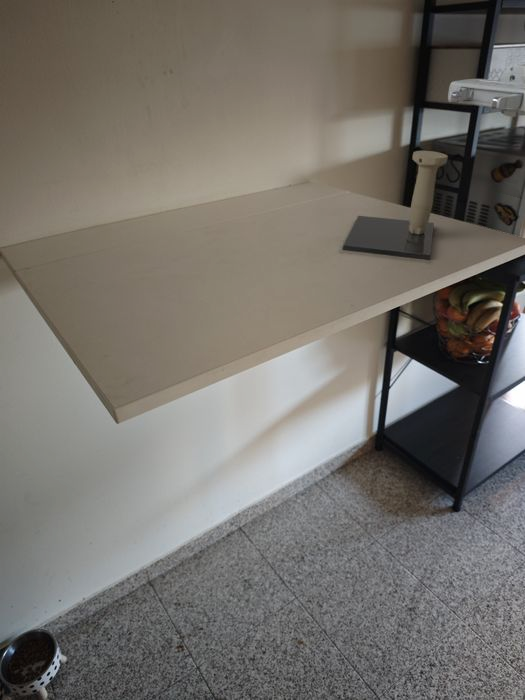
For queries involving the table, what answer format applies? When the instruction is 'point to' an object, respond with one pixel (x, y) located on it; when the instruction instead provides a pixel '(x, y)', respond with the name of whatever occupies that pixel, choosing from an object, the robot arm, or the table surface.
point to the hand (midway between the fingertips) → (473, 100)
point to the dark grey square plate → (388, 238)
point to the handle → (424, 188)
